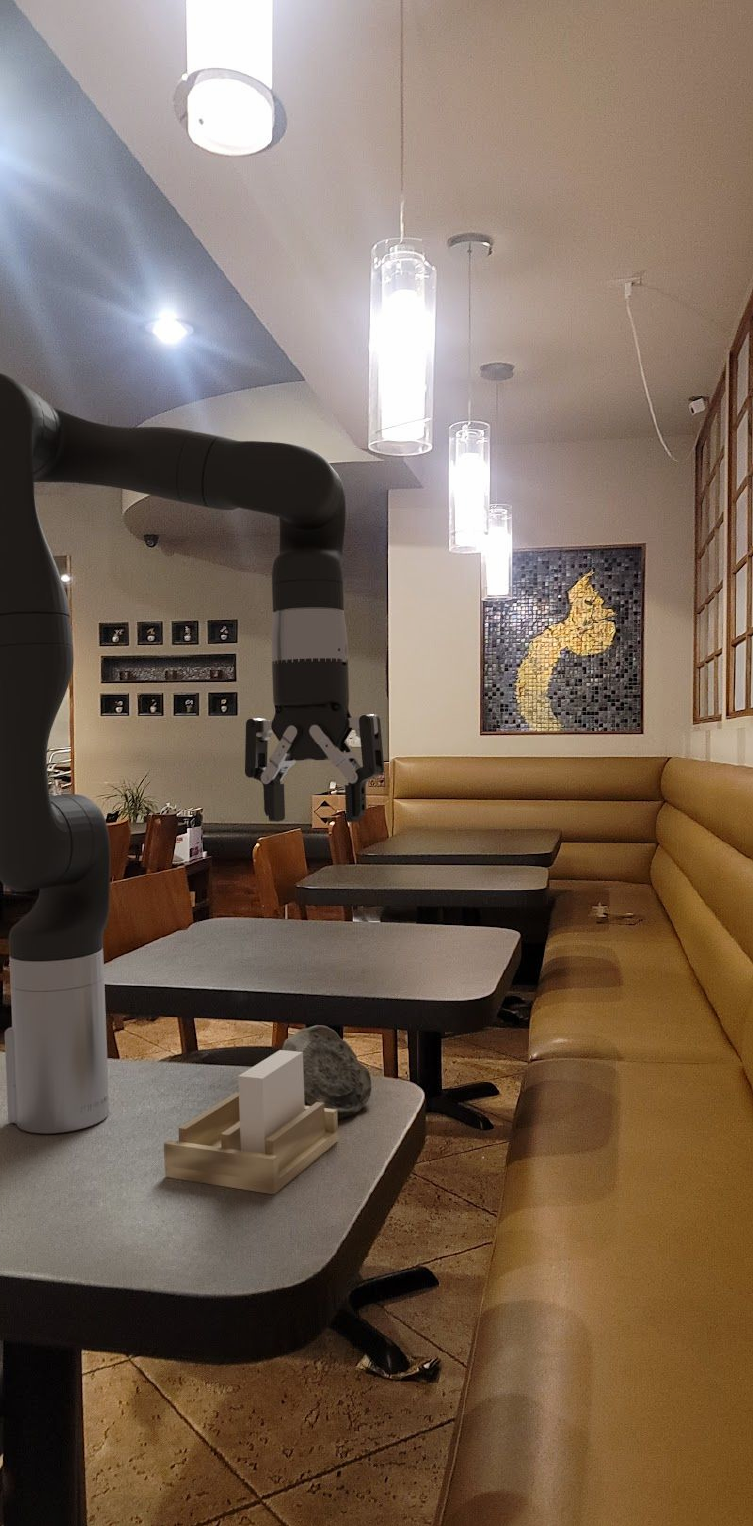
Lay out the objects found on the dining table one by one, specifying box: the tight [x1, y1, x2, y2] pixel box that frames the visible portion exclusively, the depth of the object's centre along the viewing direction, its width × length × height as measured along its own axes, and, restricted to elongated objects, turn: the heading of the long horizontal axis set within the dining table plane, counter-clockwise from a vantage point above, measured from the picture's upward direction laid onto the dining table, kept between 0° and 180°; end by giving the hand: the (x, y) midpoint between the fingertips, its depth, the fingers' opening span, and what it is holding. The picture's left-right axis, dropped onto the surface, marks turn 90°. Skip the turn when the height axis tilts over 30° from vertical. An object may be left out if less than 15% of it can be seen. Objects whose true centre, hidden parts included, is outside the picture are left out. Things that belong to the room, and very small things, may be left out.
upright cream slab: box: [237, 1049, 305, 1154], centre depth 98 cm, size 2×8×8 cm, turn 158°
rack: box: [163, 1091, 339, 1195], centre depth 99 cm, size 11×13×4 cm
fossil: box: [281, 1024, 372, 1120], centre depth 112 cm, size 11×9×10 cm
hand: (315, 821), depth 107 cm, fingers open, 8 cm apart
